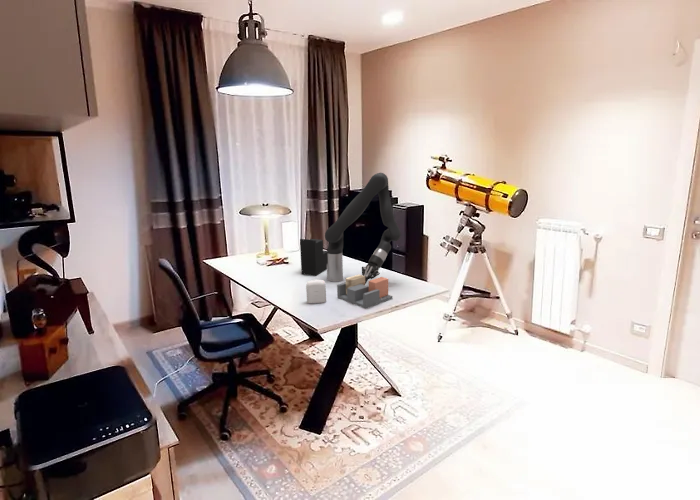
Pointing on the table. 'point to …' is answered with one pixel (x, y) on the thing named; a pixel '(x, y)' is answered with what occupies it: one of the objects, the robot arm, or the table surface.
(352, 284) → the ash plug
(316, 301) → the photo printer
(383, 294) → the terracotta plug
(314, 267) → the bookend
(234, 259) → the table surface
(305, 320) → the table surface
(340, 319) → the table surface
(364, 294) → the grey slotted tray
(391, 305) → the table surface
